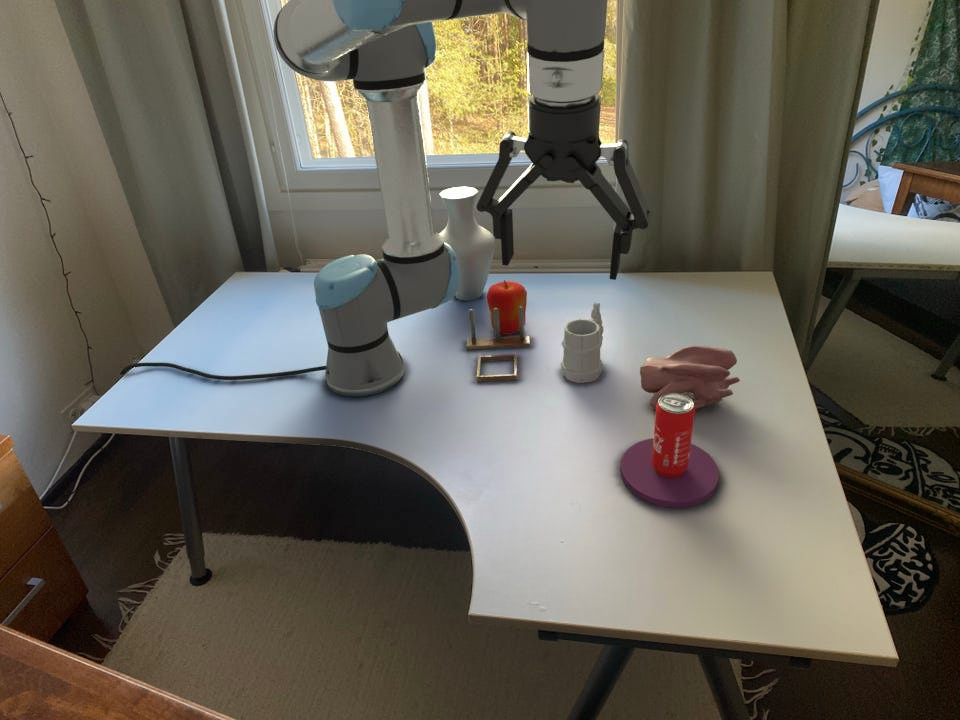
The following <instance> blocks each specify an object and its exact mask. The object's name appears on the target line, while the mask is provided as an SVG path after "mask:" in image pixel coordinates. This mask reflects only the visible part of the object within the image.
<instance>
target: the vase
mask: <svg viewBox="0 0 960 720" xmlns="http://www.w3.org/2000/svg"><path fill="white" fill-rule="evenodd" d="M478 192H479V190H477V189H476V188H475V187H470V186H457V187H451V188H447V189H444V190H442V191H441V192H440V193H439V196H440V199H441V200H442V202H443V204H444V206H445V208H446V211H447V214H448V219H447V224H446V226H445V228H444V229H443V230H441V232H439V233H438V234H439V235H441V236H442V237H443V239H444V242H445V243H447V244H448V245H450V246H451V248H452V249H453V251H454V253H455V255H456V261H457V262H458V265H459V272H460V281H459V287H458V291H457V293H456V295H455V296H454V297H455V298H456V299H457V300H460V301H464V302H465V301H474V300H477V299H479V298H481V297H482V295H483V293H484V291H485V287H486V284H487V281H488V279H489V274H490V270H491V267H492V263H493V258H494V254H495V249H496V239H495V237H494V234H492V232H491V231H489V230H488V229H486V228H485V227H483V226H481V225H479V224H478V223H477V222H478V221H476V219H475V216H474V205H475V201H476V198H477V195H478Z"/></svg>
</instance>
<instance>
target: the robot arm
mask: <svg viewBox="0 0 960 720" xmlns="http://www.w3.org/2000/svg"><path fill="white" fill-rule="evenodd" d="M607 12H608V0H289V1H287V2H286V3H285V4H284V5H283V6H282V8H281V9H280V10H279V12H278V13H277V15H276V17H275V20H274V24H273V31H272V32H273V41H274V45H275V49H276V50H277V52H278V54H279V55H280V56H279V57H280V58H281V59H282V60H283V62H284V63H285V64H286V65H287V66H288V67H289V68H290V69H291V70H293V71H294V72H295V73H297V74H299V75H300V76H303V77H305V78H307V79H311V80H316V81H320V82H342V81H350V80H352V84H353V89H354V91H355V92H356V93H358V94H359V95H360V96H361V97H362V98H364V100H365V103H366V110H367V116H368V122H369V128H370V133H371V141H372V145H373V152H374V159H375V165H376V170H377V177H378V182H379V189H380V195H381V199H382V207H383V213H384V221H385V226H386V232H387V237H386V239H385V240H384V241H383V242H382V244H381V251H382V258H380V259H376V260H375V258H374V257H372V256H370V255H368V254H365V253H363V254H361V253H360V254H359V253H358V254H356V255H354V254H350V255H345V256H341V257H339V258H337V259H335V260H333V261H330V262H329V263H327V264H326V265H324V266H323V267H322V268H320V270H319V271H318V272H317V273H316V275H315V277H314V280H313V288H314V295H315V304H316V306H317V308H318V311H319V315H320V319H321V323H322V328H323V331H324V336H325V339H326V343H327V355H326V363H325V364H326V365H320V366H314V367H308V368H303V369H295V370H289V371H281V372H280V371H279V372H271V373H270V372H269V373H258V374H246V375H244V374H243V375H217V374H210V373H206V372H203V371H200V370H197V369H193V368H189V367H185V366H182V365H178V364H175V363H171V362H136V363H132V364H129V365H127V366H125V367H124V368H123V369H122V370H121V371H120V373H119V375H124V374H126V373H127V372H128V371H130V370H132V369H135V368H142V367H144V368H145V367H164V368H165V367H166V368H172V369H176V370H179V371H182V372H185V373H190V374H194V375H197V376H200V377H203V378H206V379H212V380H217V381H218V380H220V381H243V380H254V379H255V380H256V379H270V378H279V377H287V376H295V375H302V374H308V373H313V372H320V371H325V375H324V376H325V380H326V384H327V386H328V388H329V389H330V390H331V391H332V392H333V393H335V394H337V395H339V396H343V397H350V398H359V397H360V398H361V397H368V396H372V395H377V394H379V393H382V392H384V391H387V390H389V389H390V388H392V387H394V386H395V385H396V384H397V383H398V382H400V381H401V380H402V378H403V376H404V374H405V364H404V359H403V356H402V355H401V352H399V350H397V348H396V346H395V343H394V341H393V340H392V338H391V336H390V333H389V328H388V323H390V322H393V321H397V320H399V319H402V318H405V317H408V316H412V315H415V314H418V313H421V312H423V311H424V312H425V311H427V310H431V309H437V308H438V307H439V306H442V305H444V304H446V303H447V304H448V303H450V302H451V301H452V300H453V298H455V297H456V296H455V295H456V293H457V291H458V287H459V281H460V272H459V265H458V262H457V261H456V255H455V253H454V251H453V249H452V248H451V246H450V245H448V244H447V243H445V242H444V239H443V237H442V236H441V235H439V234H440V233H438V232H437V231H436V230H435V224H434V215H433V208H432V200H431V191H430V190H431V189H430V183H429V174H428V165H427V156H426V149H425V148H426V147H425V140H424V133H423V125H422V116H421V107H420V99H419V94H420V91H421V90H422V88H423V87H424V85H425V84H426V83H427V82H426V72H425V71H426V70H427V69H429V68H430V67H431V66H432V65H433V64H434V63H435V60H436V54H437V39H436V34H435V29H434V25H433V22H439V21H449V20H458V19H466V18H473V17H482V16H488V15H497V14H504V15H505V14H506V15H510V16H512V17H515V18H518V19H520V20H523V21H526V57H527V58H526V63H527V64H526V69H527V92H528V93H529V94H530V96H529V97H528V99H527V137H521V136H518V135H517V134H516V132H515V131H512V130H509V131H507V132H506V133H505V135H504V136H503V138H502V139H501V140H500V142H499V151H498V159H497V161H496V164H495V166H494V168H493V170H492V172H491V173H490V176H489V179H488V180H487V182H486V185H485V187H484V189H483V191H482V194H481V195H480V197H479V199H478V202H477V204H476V206H475V207H476V209H477V211H478V212H480V213H484V212H486V213H488V214H490V215H491V217H492V231H493V234H492V235H493V237H494V239H495V240H500V245H501V247H500V248H501V264H502V266H509V264H510V263H511V261H512V259H513V257H514V255H515V248H514V245H515V244H514V221H513V220H514V219H513V218H514V217H513V216H514V215H513V209H512V208H510V207H511V206H512V205H513V204H514V203H515V202H516V201H517V200H518V198H520V197H521V195H522V194H523V193H525V191H526V190H527V189H528V188H529V187H530V186H531V185H533V184H534V183H535V182H536V181H537V179H539V178H540V177H542V178H544V179H546V182H559V181H561V182H564V183H566V184H575V183H576V182H577V181H579V182H580V183H581V185H582V186H583V187H584V188H585V189H586V190H589V191H590V192H591V194H592V195H593V197H594V198H595V199H596V201H598V203H599V204H600V206H601V207H602V208H603V209H604V210H605V212H606V213H607V214H608V216H609V217H610V218H611V219H612V221H613V222H614V223H615V226H614V227H615V228H614V231H613V235H612V249H611V257H610V258H611V259H610V268H609V269H610V270H609V280H614V281H616V280H617V277H618V273H619V270H620V264H621V254H622V255H629V252H630V251H631V246H632V240H633V239H632V238H633V231H634V230H636V229H640V230H646V229H648V227H649V225H650V220H651V216H652V212H651V209H650V207H649V204H648V202H647V200H646V198H645V194H644V193H643V190H642V187H641V185H640V183H639V180H638V178H637V176H636V173H635V171H634V169H633V165H632V164H631V161H630V157H629V156H630V154H629V141H628V140H627V139H625V138H619V140H618V141H617V142H614V143H613V142H612V143H603V142H602V140H601V138H600V121H601V105H602V97H601V95H600V94H599V93H600V92H601V90H602V89H603V78H604V77H603V76H604V62H605V61H604V60H605V39H606V28H607V27H606V25H607V14H608V13H607ZM521 151H524V153H525V155H526V156H527V158H528V159H529V161H530V162H531V164H530V165H529V166H528V167H527V169H526V170H524V172H522V174H521V175H520V176H519V177H518V178H517V179H516V180H515V181H514V183H512V185H511V186H510V187H508V189H507V190H506V191H505V192H504V193H503V194H502V195H501V196H500V197H499V198H498V199H496V198H494V196H495V194H496V192H497V190H498V189H499V187H500V184H501V182H502V181H503V178H504V176H505V174H506V172H507V170H508V168H509V166H510V164H511V162H512V160H513V159H514V158H516V157H518V155H519V154H520V152H521ZM601 157H603V158H605V159H606V161H607V163H608V165H609V166H611V167H612V166H613V170H614V174H615V178H616V180H617V181H618V182H617V183H618V185H619V186H620V189H621V191H622V193H623V195H624V198H625V200H626V203H627V204H626V203H625V201H623V199H622V198H621V196H620V195H619V194H618V193H617V192H616V190H615V189H614V187H613V186H612V185H611V184H610V182H609V181H608V180H607V178H606V177H605V176H604V174H603V173H602V169H601V167H600V166H599V165H598V164H597V162H598V161H599V160H600V158H601ZM627 205H628V206H627ZM134 367H135V368H134Z"/></svg>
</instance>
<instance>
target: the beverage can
mask: <svg viewBox="0 0 960 720" xmlns="http://www.w3.org/2000/svg"><path fill="white" fill-rule="evenodd" d="M695 415H696V409H695V407H694V403H693V399H692V398H691V397H689V396H688V395H686V394H684V393H683V394H679V393H669V394H665V395H663V396H661V397H660V399H659V401H658V403H657V405H656V409H655V417H654V427H653V428H654V429H653V450H652V464H653V466H654V469H655V471H656V472H657V473H658V474H659V475H661V476H663V477H666V478H677V477H680V476H681V475H683V473H684V471H685V470H686V469H687V467H688V463H689V455H690V447H691V444H692V440H693V439H692V438H693V430H694V423H695Z"/></svg>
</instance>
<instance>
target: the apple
mask: <svg viewBox="0 0 960 720" xmlns="http://www.w3.org/2000/svg"><path fill="white" fill-rule="evenodd" d="M485 298H486V303H487V307H488V310H489V315H490V321H491V327H492V328H493V330H494V331H495V324H494V311H493V310H494V308H498V311H499V325H500V335H513V334H515V333H517V332H520V329H519V311H518V308H519V307H523V311H524V326H526V312H527V311H526V310H527V303H528V302H527V299H528V291H527V290H526V288H525V286H524V285H523V284H522V283H519V282H517V281H511V280H510V281H509V280H507V281H506V279H505V280H503V281H500V282H497V283H494V284H492V285H490V286H489V287H488V289H487V293H486V296H485Z"/></svg>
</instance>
